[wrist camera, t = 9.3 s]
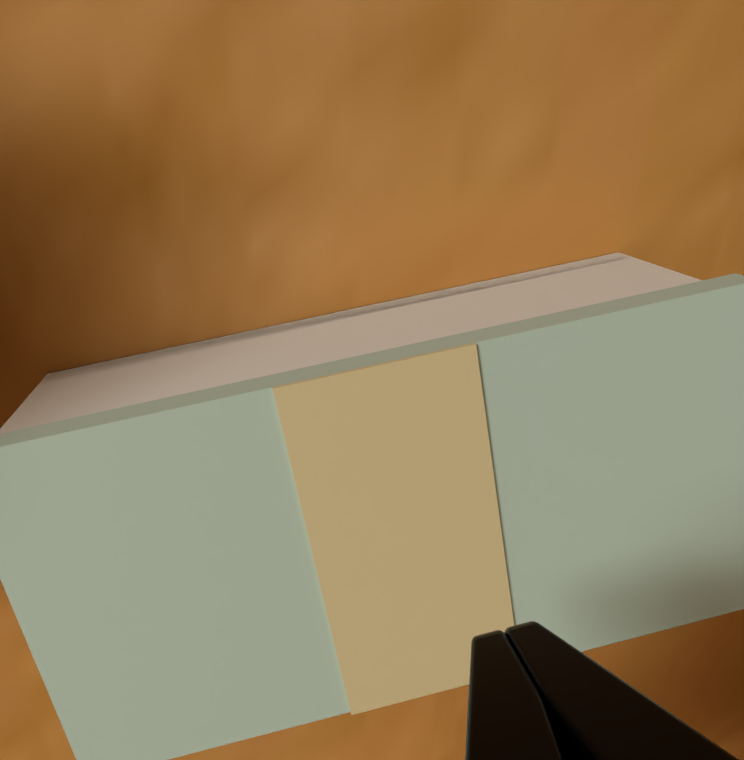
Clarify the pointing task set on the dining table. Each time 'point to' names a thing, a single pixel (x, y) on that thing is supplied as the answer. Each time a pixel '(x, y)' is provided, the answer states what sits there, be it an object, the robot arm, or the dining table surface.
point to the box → (337, 337)
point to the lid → (378, 521)
